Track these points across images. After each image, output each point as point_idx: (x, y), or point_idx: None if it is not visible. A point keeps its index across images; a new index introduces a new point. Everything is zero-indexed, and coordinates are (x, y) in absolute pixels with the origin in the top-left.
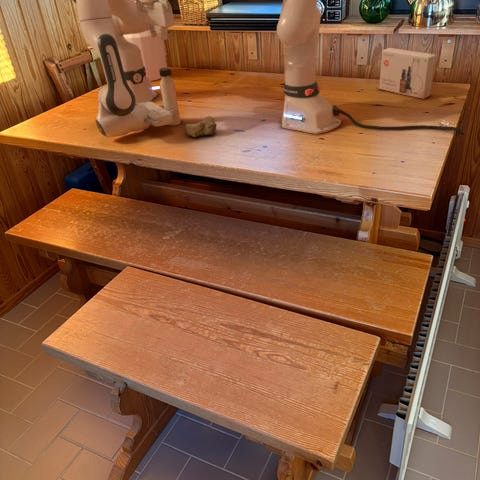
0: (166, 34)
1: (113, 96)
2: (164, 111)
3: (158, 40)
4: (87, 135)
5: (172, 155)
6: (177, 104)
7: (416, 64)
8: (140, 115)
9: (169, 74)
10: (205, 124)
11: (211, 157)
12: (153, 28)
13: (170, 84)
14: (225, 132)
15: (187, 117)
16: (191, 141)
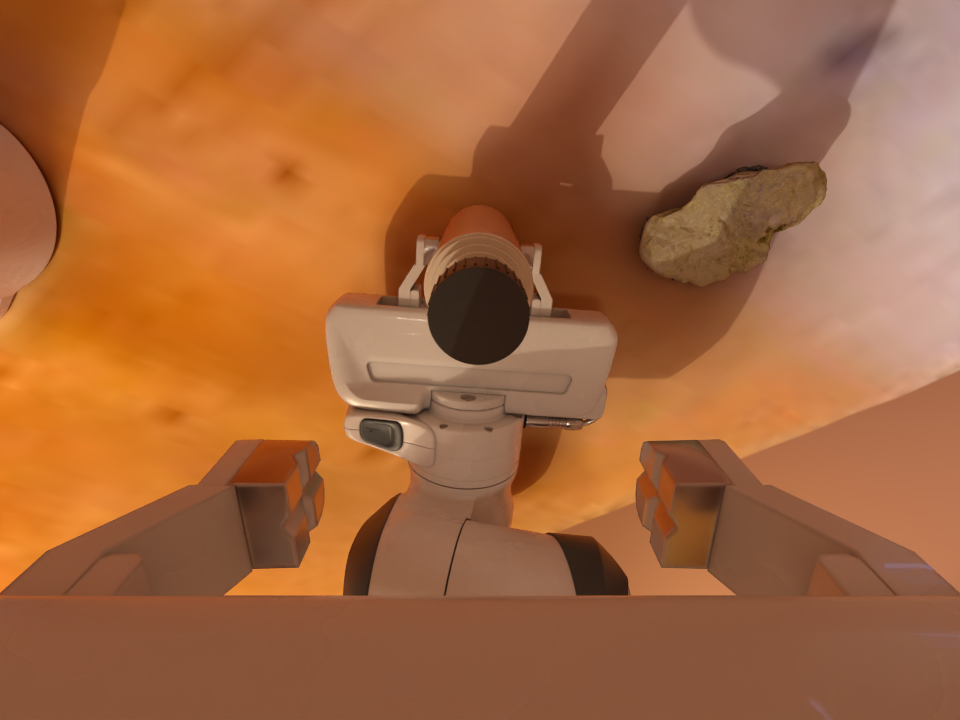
0: (758, 493)
1: None
2: (557, 340)
3: None
4: (328, 548)
5: (779, 418)
6: (507, 225)
7: None
8: (516, 451)
9: (524, 291)
10: (791, 222)
11: (936, 326)
12: (178, 544)
13: (533, 288)
14: (806, 118)
15: (458, 140)
16: (739, 298)
